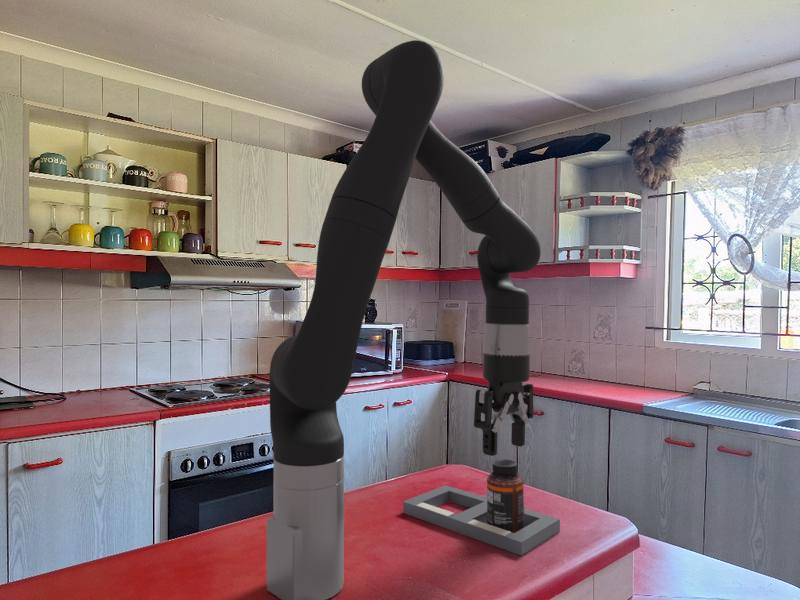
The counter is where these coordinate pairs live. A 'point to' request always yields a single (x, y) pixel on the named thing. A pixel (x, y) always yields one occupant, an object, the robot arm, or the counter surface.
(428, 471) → the counter surface
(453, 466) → the counter surface
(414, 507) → the socket panel
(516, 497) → the supplement bottle
